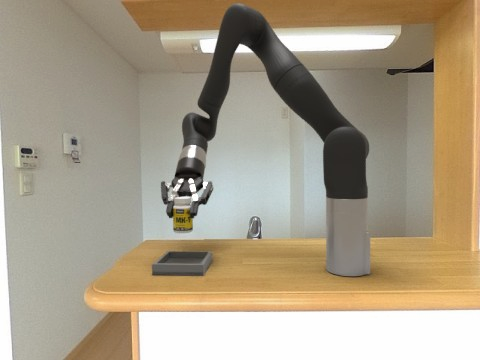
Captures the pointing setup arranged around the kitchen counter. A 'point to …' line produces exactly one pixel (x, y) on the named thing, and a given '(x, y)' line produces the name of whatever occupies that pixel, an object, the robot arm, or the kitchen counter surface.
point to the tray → (182, 263)
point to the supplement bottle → (182, 215)
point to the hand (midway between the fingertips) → (181, 216)
